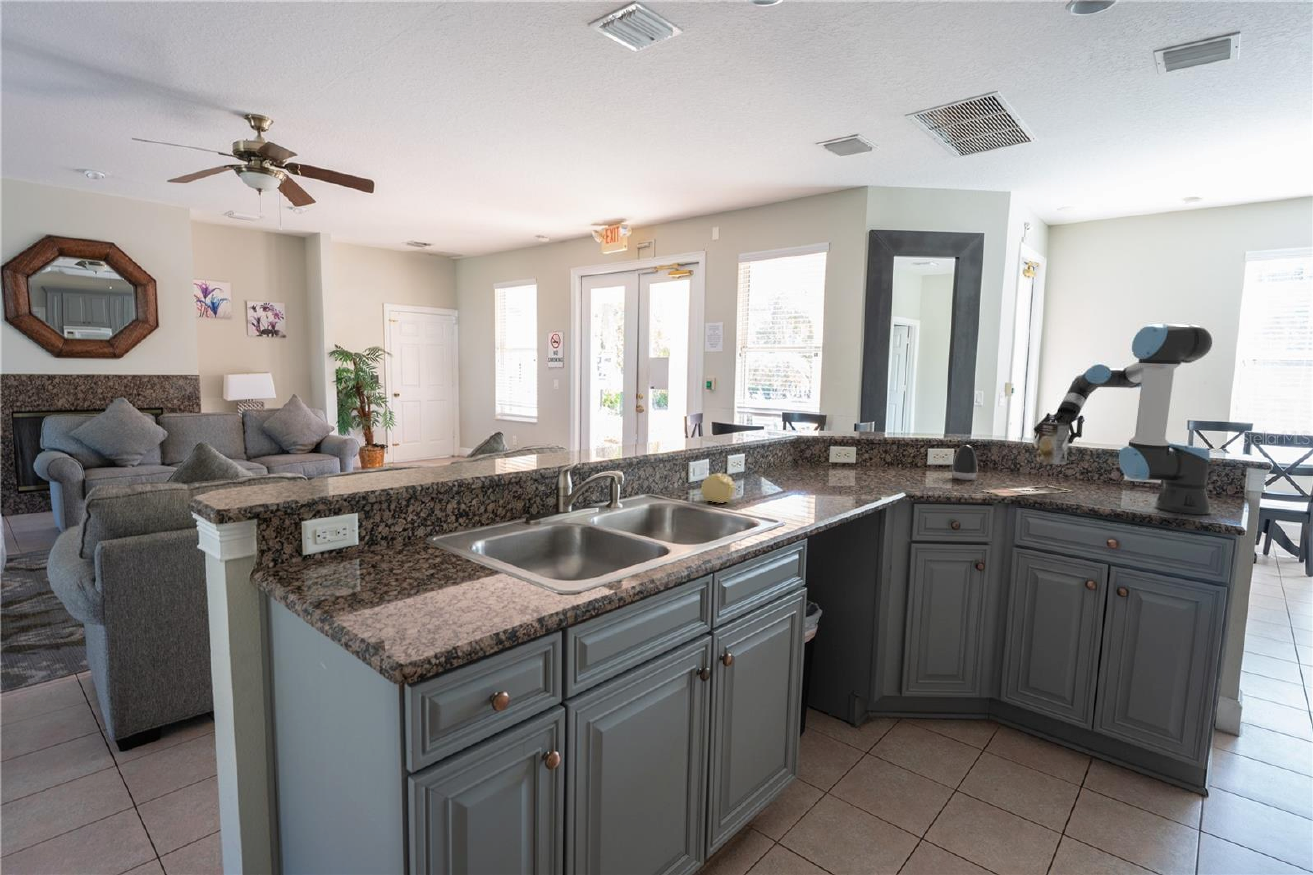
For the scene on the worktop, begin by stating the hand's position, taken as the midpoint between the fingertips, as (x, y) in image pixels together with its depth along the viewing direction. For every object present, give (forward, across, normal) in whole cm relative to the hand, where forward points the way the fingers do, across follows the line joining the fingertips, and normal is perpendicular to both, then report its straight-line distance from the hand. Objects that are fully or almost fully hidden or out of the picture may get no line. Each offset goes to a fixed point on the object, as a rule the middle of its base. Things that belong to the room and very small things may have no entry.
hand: (1049, 447), depth 261 cm
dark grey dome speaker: (+15, +32, -10) cm, 37 cm away
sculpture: (+102, +53, +77) cm, 139 cm away
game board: (+18, +3, -7) cm, 20 cm away
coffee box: (+3, 0, -7) cm, 7 cm away
